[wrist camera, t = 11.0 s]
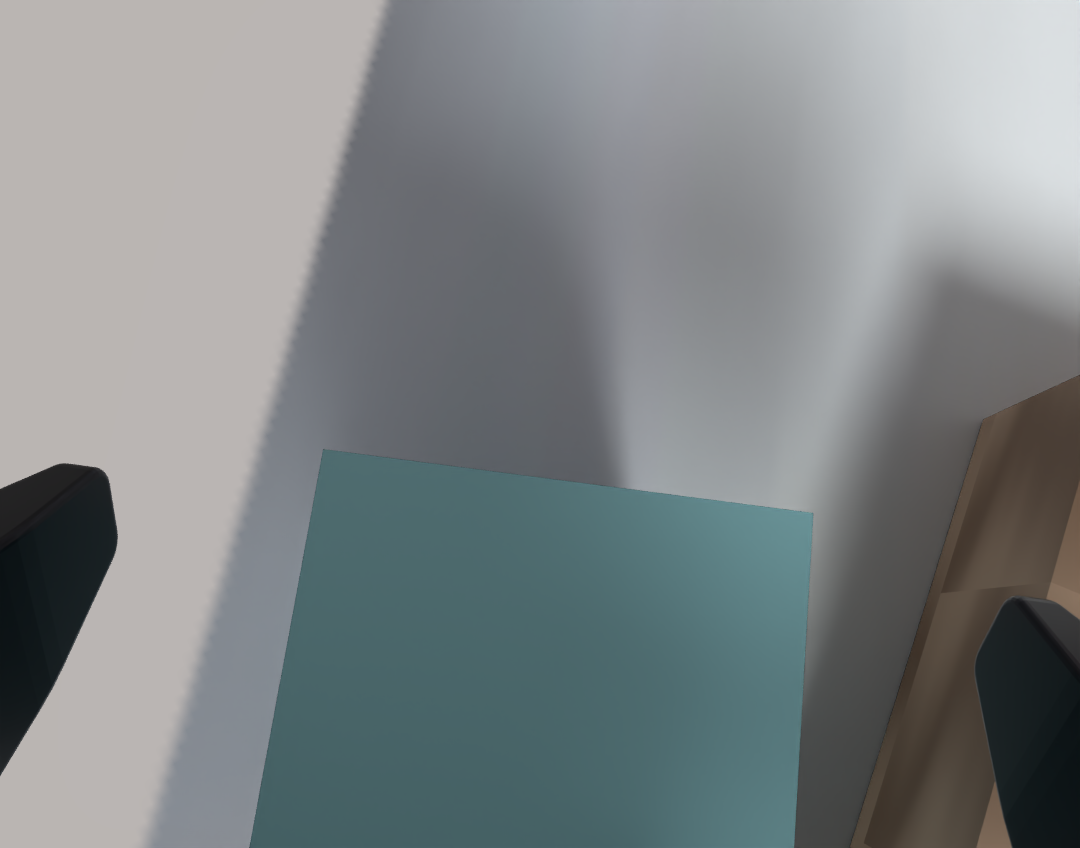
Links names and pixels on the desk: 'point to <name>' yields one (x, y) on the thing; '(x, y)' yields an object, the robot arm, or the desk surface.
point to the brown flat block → (978, 626)
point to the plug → (536, 666)
